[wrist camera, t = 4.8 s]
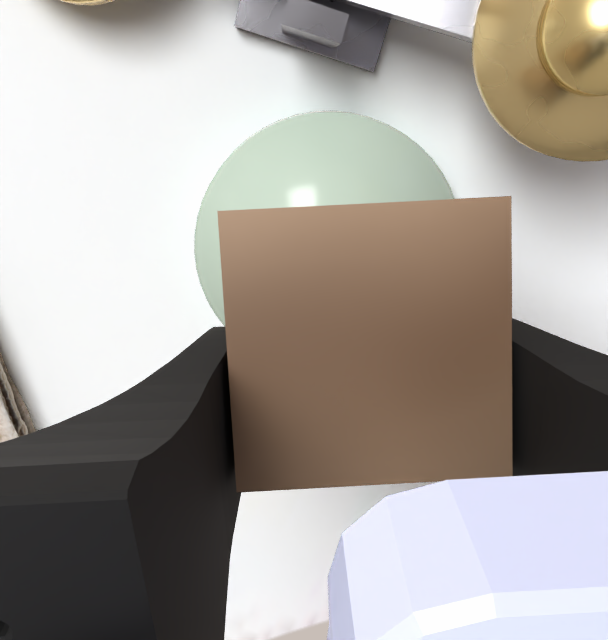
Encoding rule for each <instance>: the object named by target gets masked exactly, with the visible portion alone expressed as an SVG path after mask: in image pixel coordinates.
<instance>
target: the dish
mask: <svg viewBox="0 0 608 640" xmlns="http://www.w3.org/2000/svg"><path fill="white" fill-rule="evenodd" d="M445 199H454V197H453V194H452V191H451V189H450V187H449V185H448V183H447V181H446V179H445V177H444V175H443V173H442V172H441V170H440V169H439V168H438V166H437V165H436V164H435V162H434V161H433V159H432V158H431V157H430V156H429V155H428V154H427V153H426V152H425V151H424V150H423V149H422V148H421V147H420V146H419V145H418V144H417V143H415V142H414V141H413V140H411V139H410V138H409V137H408V136H406V135H405V134H403V133H402V132H400V131H398V130H396V129H395V128H393V127H391V126H389V125H387V124H385V123H383V122H380V121H378V120H375V119H372V118H370V117H367V116H363V115H359V114H355V113H351V112H342V111H313V112H308V113H302V114H297V115H294V116H291V117H288V118H285V119H282V120H279V121H277V122H275V123H272V124H270V125H268V126H266V127H264V128H262V129H261V130H259V131H258V132H256V133H255V134H254V135H252V136H251V137H249V138H248V139H246V140H245V141H244V142H243V143H242V144H241V145H240V146H239V147H238V148H237V149H235V150H234V151H233V153H232V154H231V155H230V156H229V157H228V159H227V160H226V161H225V162H224V163H223V165H222V166H221V167H220V169H219V170H218V172H217V173H216V175H215V177H214V178H213V180H212V181H211V183H210V185H209V187H208V189H207V191H206V193H205V196H204V198H203V200H202V203H201V207H200V210H199V213H198V217H197V223H196V229H195V249H194V252H195V260H196V268H197V272H198V276H199V280H200V284H201V286H202V289H203V291H204V294H205V296H206V299H207V301H208V302H209V304H210V306H211V308H212V309H213V311H214V313H215V314H216V316H217V317H218V318H219V320H220V321H221V322H222V324H223V325H224V326H225V315H224V300H223V286H222V271H221V257H220V242H219V228H218V213H217V211H226V210H246V209H266V208H286V207H306V206H326V205H346V204H366V203H386V202H406V201H426V200H445Z"/></svg>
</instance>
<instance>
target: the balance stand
mask: <svg viewBox="0 0 608 640" xmlns="http://www.w3.org/2000/svg"><path fill="white" fill-rule="evenodd" d="M389 22H390V18H389V17H386V16H383V15H379V14H376V13H373V12H370V11H366V10H363V9H360V8H357V7H353V6H350V5H347V4H344V3H340V2H337V1H334V0H240V3H239V7H238V12H237V16H236V21H235V25H234V26H235V27H236V28H239V29H242V30H245V31H248V32H252V33H255V34H258V35H261V36H264V37H267V38H270V39H273V40H276V41H279V42H282V43H285V44H288V45H291V46H294V47H297V48H301V49H304V50H307V51H310V52H313V53H316V54H319V55H322V56H325V57H328V58H331V59H334V60H337V61H340V62H343V63H346V64H350V65H353V66H356V67H359V68H362V69H365V70H368V71H371V72H374V70H375V66H376V63H377V60H378V57H379V54H380V50H381V47H382V44H383V41H384V38H385V34H386V31H387V28H388V25H389Z"/></svg>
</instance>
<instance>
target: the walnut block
mask: <svg viewBox="0 0 608 640" xmlns="http://www.w3.org/2000/svg"><path fill="white" fill-rule="evenodd" d="M217 213H218V228H219V242H220V257H221V271H222V286H223V300H224V315H225V330H226V344H227V359H228V373H229V388H230V402H231V417H232V431H233V446H234V461H235V475H236V490H237V492H254V491H272V490H290V489H308V488H326V487H344V486H362V485H380V484H398V483H416V482H434V481H445V480H453V479H472V478H490V477H509V476H513V466H512V252H511V196H505V197H485V198H465V199H445V200H426V201H406V202H386V203H366V204H346V205H326V206H306V207H286V208H266V209H246V210H226V211H217Z"/></svg>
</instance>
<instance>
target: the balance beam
mask: <svg viewBox="0 0 608 640" xmlns="http://www.w3.org/2000/svg"><path fill="white" fill-rule="evenodd" d="M60 1H63V2H67V3H71V4H76V5H100V4H105V3H109V2H113V1H115V0H60ZM334 1H337V2H340V3H344V4H347V5H350V6H353V7H357V8H360V9H363V10H366V11H370V12H373V13H376V14H379V15H383V16H386V17H389V18H392V19H396V20H399V21H402V22H406V23H409V24H412V25H415V26H419V27H422V28H425V29H428V30H432V31H435V32H438V33H441V34H445V35H448V36H451V37H454V38H458V39H461V40H464V41H467V42H471V43H472V61H473V69H474V74H475V79H476V83H477V86H478V89H479V92H480V95H481V97H482V99H483V101H484V103H485V105H486V107H487V109H488V111H489V112H490V113H491V115H492V116H493V118H494V119H495V121H496V122H497V123H498V124H499V125H500V126H501V127H502V128H503V129H504V130H505V131H506V133H508V134H509V135H510V136H512V137H513V138H514V139H515V140H517V141H518V142H520V143H521V144H523V145H525V146H527V147H528V148H530V149H532V150H535V151H537V152H540V153H542V154H545V155H548V156H552V157H556V158H560V159H565V160H573V161H601V160H608V95H607V96H597V97H587V96H580V95H576V94H573V93H570V92H567V91H565V90H564V89H562V88H560V87H559V86H558V85H556V84H555V83H554V82H553V81H552V80H551V79H550V78H549V77H548V75H547V74H546V73H545V71H544V69H543V67H542V65H541V63H540V60H539V57H538V54H537V48H536V30H537V24H538V20H539V16H540V14H541V11H542V8H543V6H544V4H545V2H546V0H334Z"/></svg>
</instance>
